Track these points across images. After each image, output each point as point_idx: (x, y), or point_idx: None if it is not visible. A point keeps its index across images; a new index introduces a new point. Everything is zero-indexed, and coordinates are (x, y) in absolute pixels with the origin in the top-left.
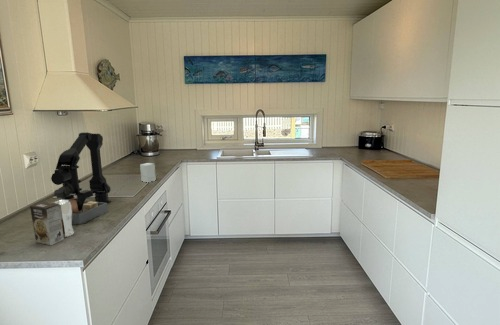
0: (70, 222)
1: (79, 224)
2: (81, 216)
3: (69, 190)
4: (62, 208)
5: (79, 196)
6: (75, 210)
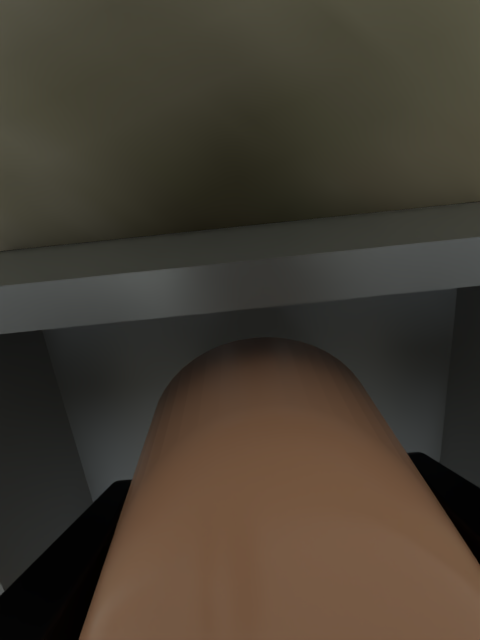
0: None
1: (23, 249)
2: None
3: None
4: None
5: None
6: (151, 436)
